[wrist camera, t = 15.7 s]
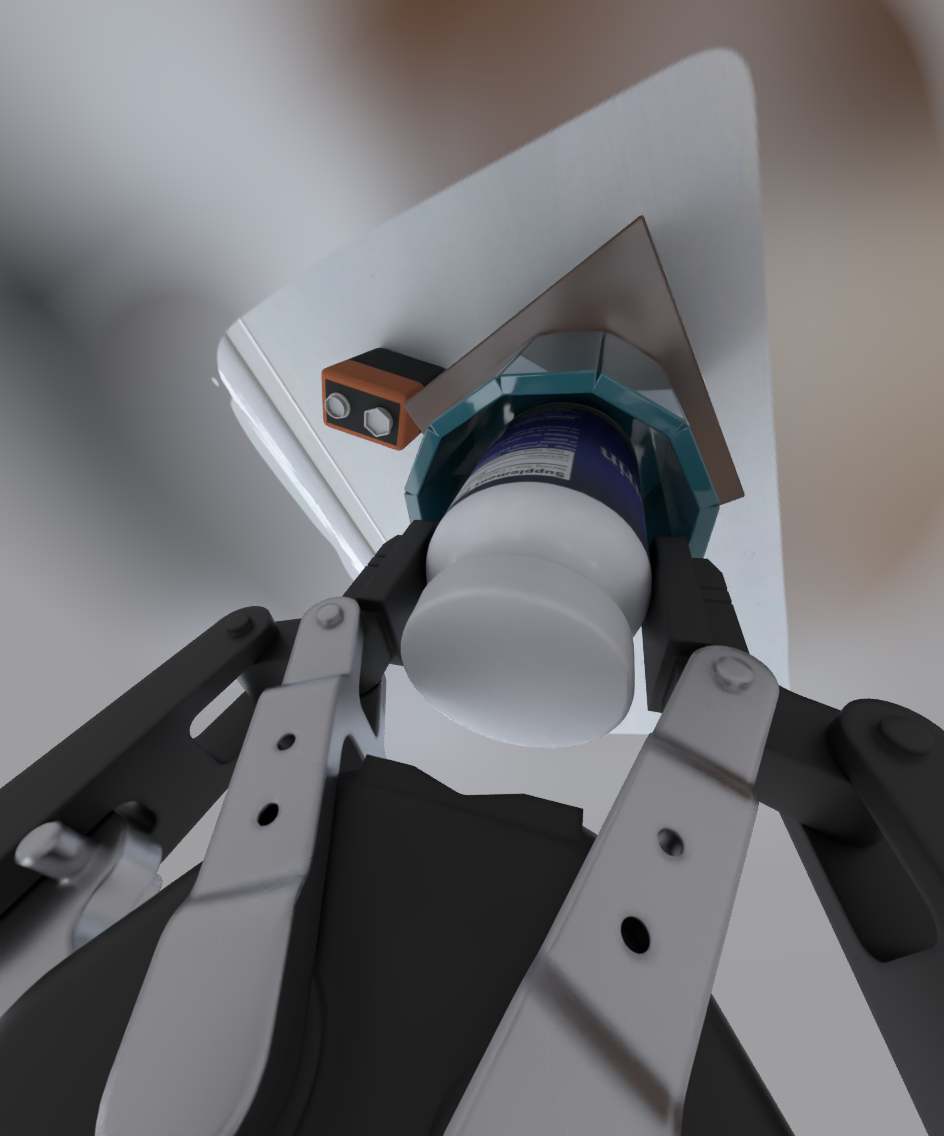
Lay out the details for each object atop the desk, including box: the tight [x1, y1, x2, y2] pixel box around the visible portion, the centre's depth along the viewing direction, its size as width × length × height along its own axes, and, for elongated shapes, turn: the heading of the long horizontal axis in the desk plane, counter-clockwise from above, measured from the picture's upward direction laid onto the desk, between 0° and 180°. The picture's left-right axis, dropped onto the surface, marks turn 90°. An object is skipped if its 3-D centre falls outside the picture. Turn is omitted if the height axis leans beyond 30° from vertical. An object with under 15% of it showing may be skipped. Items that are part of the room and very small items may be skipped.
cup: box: [404, 331, 720, 558], centre depth 15 cm, size 9×9×7 cm
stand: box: [403, 215, 745, 505], centre depth 24 cm, size 11×11×18 cm
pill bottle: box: [401, 402, 652, 748], centre depth 11 cm, size 6×6×10 cm
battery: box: [322, 348, 446, 450], centre depth 32 cm, size 4×7×10 cm, turn 77°
